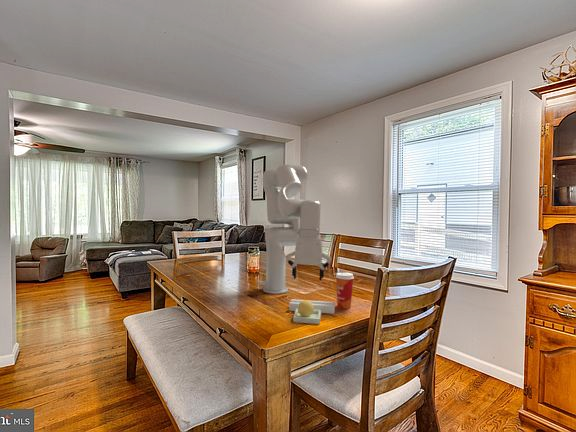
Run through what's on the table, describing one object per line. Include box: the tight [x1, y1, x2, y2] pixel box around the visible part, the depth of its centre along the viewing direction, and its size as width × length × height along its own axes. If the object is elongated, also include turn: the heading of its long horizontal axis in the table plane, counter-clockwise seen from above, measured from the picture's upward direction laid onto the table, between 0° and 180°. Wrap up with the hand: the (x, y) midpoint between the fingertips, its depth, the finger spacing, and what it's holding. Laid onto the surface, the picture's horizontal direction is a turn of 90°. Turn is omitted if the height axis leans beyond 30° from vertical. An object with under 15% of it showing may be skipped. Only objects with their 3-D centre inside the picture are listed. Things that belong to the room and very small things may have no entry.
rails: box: [288, 298, 336, 315], centre depth 122 cm, size 18×5×3 cm, turn 81°
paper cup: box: [335, 272, 355, 310], centre depth 126 cm, size 8×8×14 cm
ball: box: [298, 299, 314, 317], centre depth 113 cm, size 6×6×6 cm
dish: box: [292, 308, 322, 325], centre depth 113 cm, size 10×10×2 cm
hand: (307, 278), depth 113 cm, fingers open, 9 cm apart
